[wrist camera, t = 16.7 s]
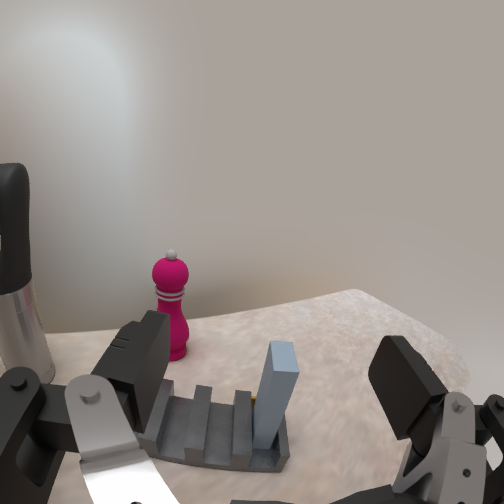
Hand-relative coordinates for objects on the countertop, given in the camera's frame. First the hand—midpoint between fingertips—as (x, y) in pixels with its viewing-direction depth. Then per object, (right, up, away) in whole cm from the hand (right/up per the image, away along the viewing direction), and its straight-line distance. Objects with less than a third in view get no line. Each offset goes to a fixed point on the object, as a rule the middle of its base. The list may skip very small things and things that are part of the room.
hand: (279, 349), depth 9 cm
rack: (-8, -22, +22) cm, 32 cm away
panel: (0, -21, +22) cm, 30 cm away
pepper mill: (-16, -15, +38) cm, 44 cm away
